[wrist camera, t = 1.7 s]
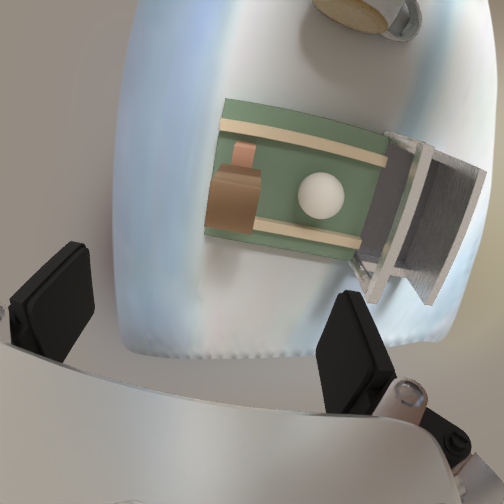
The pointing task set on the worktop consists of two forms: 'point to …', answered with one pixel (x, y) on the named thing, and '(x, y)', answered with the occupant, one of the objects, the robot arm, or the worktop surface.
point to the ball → (321, 195)
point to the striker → (235, 192)
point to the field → (302, 175)
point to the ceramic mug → (372, 15)
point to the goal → (416, 218)
